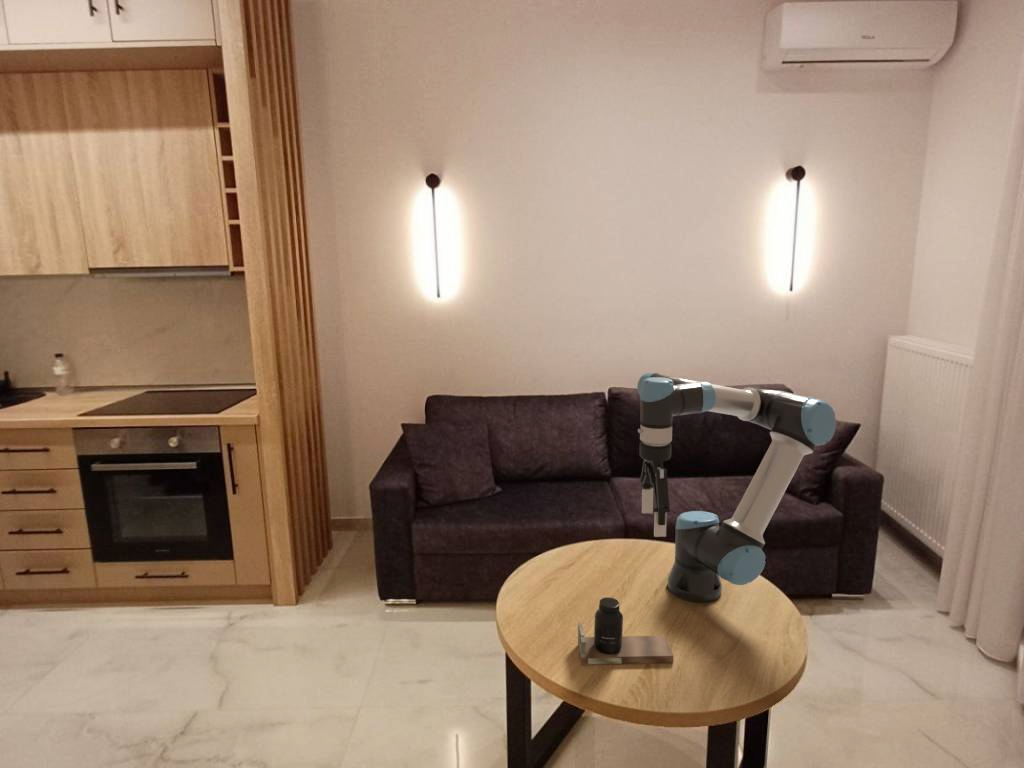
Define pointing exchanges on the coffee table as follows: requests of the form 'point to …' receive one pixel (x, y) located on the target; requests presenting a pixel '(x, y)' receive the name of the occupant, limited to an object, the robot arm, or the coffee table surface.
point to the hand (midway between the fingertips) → (653, 524)
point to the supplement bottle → (608, 626)
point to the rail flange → (626, 650)
